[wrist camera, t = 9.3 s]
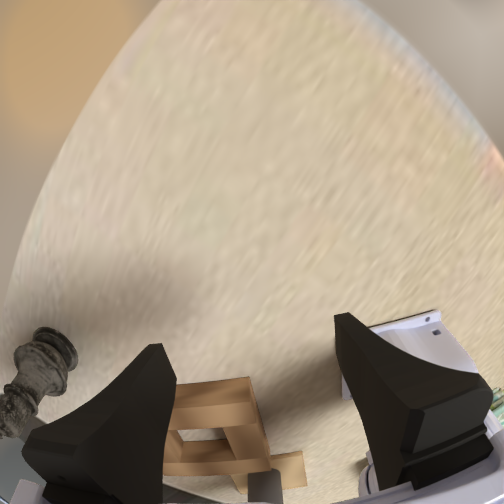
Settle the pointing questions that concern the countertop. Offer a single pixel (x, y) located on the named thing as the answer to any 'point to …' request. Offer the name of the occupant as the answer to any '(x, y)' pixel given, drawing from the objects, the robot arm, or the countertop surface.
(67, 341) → the salt shaker
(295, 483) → the coaster
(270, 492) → the plug
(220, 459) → the wooden square frame
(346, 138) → the countertop surface
